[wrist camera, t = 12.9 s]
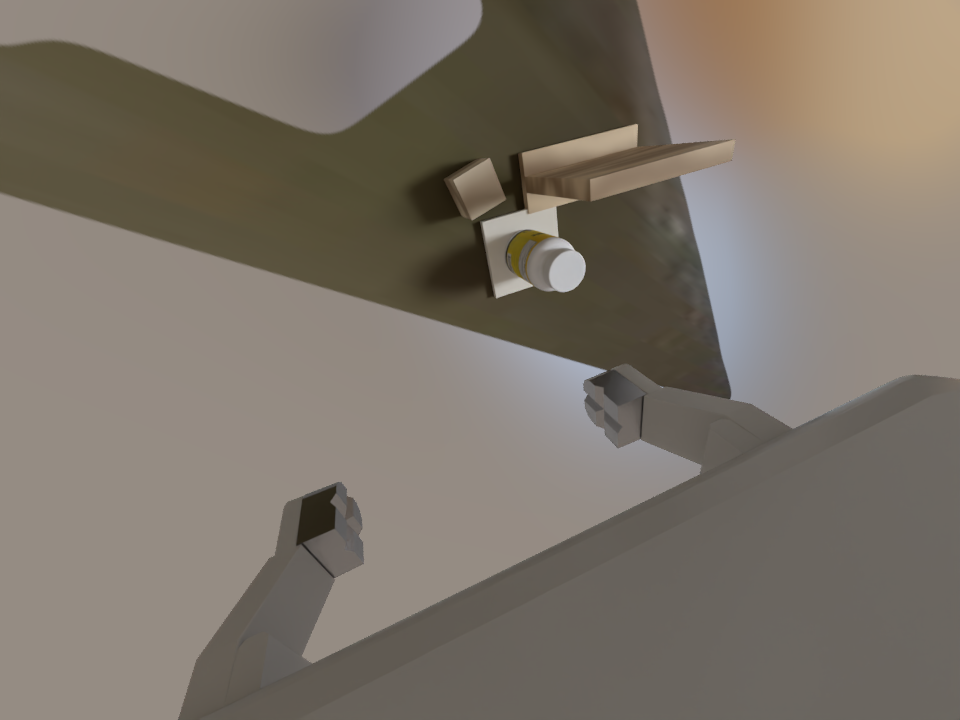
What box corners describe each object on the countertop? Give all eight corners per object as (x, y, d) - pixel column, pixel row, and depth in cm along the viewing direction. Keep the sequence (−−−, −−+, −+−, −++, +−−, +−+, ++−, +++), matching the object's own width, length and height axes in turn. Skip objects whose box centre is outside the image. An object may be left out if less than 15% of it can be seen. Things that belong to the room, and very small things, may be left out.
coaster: (479, 221, 38) (482, 222, 38) (552, 200, 40) (555, 201, 39) (494, 296, 43) (496, 297, 42) (558, 275, 45) (561, 276, 44)
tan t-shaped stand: (518, 153, 36) (589, 146, 26) (631, 124, 39) (740, 107, 28) (525, 213, 40) (591, 229, 29) (629, 183, 42) (727, 188, 31)
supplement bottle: (552, 241, 41) (602, 258, 33) (530, 282, 43) (572, 308, 35) (517, 219, 39) (562, 232, 31) (494, 263, 40) (531, 287, 32)
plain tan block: (443, 179, 35) (453, 180, 32) (476, 158, 35) (489, 157, 32) (462, 217, 38) (472, 221, 34) (492, 198, 38) (506, 200, 34)
